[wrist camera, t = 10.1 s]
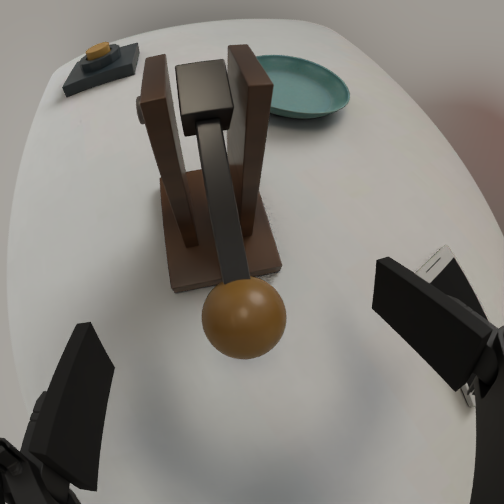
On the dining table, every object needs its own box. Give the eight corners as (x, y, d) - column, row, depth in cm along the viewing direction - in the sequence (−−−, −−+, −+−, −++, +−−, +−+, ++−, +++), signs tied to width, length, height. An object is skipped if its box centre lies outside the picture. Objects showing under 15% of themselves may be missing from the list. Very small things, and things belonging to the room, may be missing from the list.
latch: (280, 332, 14) (303, 360, 10) (211, 348, 13) (213, 382, 10) (233, 89, 13) (241, 49, 9) (166, 99, 12) (157, 60, 9)
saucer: (315, 150, 26) (321, 131, 24) (204, 98, 29) (203, 81, 26) (358, 99, 31) (364, 84, 29) (270, 60, 34) (271, 46, 31)
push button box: (66, 97, 30) (58, 79, 26) (79, 70, 33) (74, 54, 30) (134, 74, 31) (129, 53, 28) (139, 52, 35) (136, 34, 31)
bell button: (85, 64, 28) (83, 55, 26) (90, 55, 29) (88, 47, 28) (108, 56, 29) (106, 47, 27) (112, 47, 30) (110, 39, 28)
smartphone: (469, 408, 16) (475, 409, 15) (403, 282, 21) (409, 279, 20) (500, 361, 18) (506, 360, 17) (442, 246, 22) (447, 242, 22)
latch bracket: (279, 271, 21) (342, 129, 8) (174, 293, 19) (89, 168, 7) (248, 169, 24) (262, 27, 12) (162, 185, 23) (123, 46, 10)
